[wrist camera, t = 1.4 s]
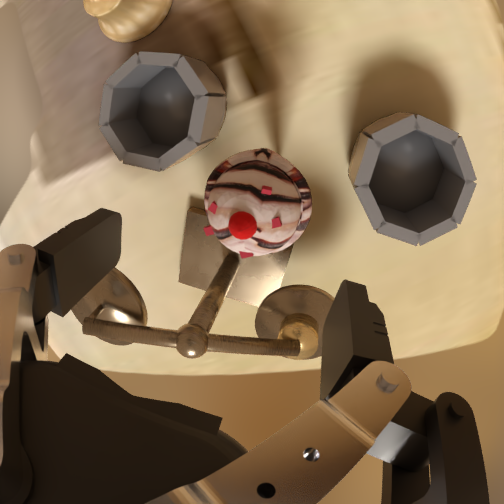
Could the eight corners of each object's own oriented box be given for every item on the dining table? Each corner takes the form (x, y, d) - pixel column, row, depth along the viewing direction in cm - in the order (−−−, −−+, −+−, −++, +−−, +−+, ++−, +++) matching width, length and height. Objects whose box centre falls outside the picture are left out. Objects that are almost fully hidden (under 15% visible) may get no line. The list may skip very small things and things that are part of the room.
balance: (141, 193, 30) (35, 265, 17) (352, 253, 29) (371, 377, 16) (137, 260, 34) (54, 349, 21) (324, 318, 33) (318, 443, 19)
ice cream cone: (302, 123, 25) (286, 146, 11) (321, 186, 27) (324, 277, 13) (238, 142, 26) (157, 189, 13) (259, 203, 28) (206, 299, 15)
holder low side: (366, 100, 23) (379, 99, 18) (459, 138, 22) (488, 149, 17) (337, 198, 27) (341, 221, 22) (426, 229, 26) (445, 256, 21)
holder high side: (143, 56, 24) (109, 51, 19) (236, 66, 23) (217, 58, 18) (129, 146, 28) (95, 157, 23) (215, 164, 28) (193, 179, 23)
